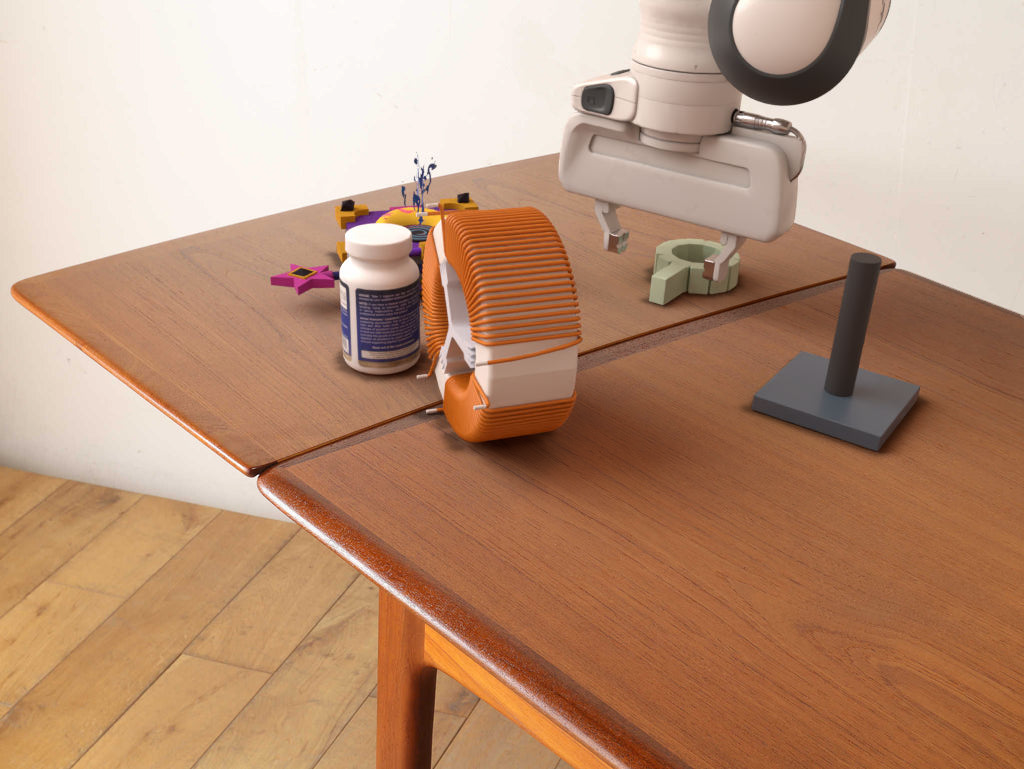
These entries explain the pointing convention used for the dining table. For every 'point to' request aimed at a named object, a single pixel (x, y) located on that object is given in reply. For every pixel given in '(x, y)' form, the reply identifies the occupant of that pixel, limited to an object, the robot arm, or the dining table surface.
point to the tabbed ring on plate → (688, 269)
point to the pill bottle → (380, 299)
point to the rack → (842, 376)
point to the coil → (500, 321)
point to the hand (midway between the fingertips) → (663, 264)
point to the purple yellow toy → (361, 215)
